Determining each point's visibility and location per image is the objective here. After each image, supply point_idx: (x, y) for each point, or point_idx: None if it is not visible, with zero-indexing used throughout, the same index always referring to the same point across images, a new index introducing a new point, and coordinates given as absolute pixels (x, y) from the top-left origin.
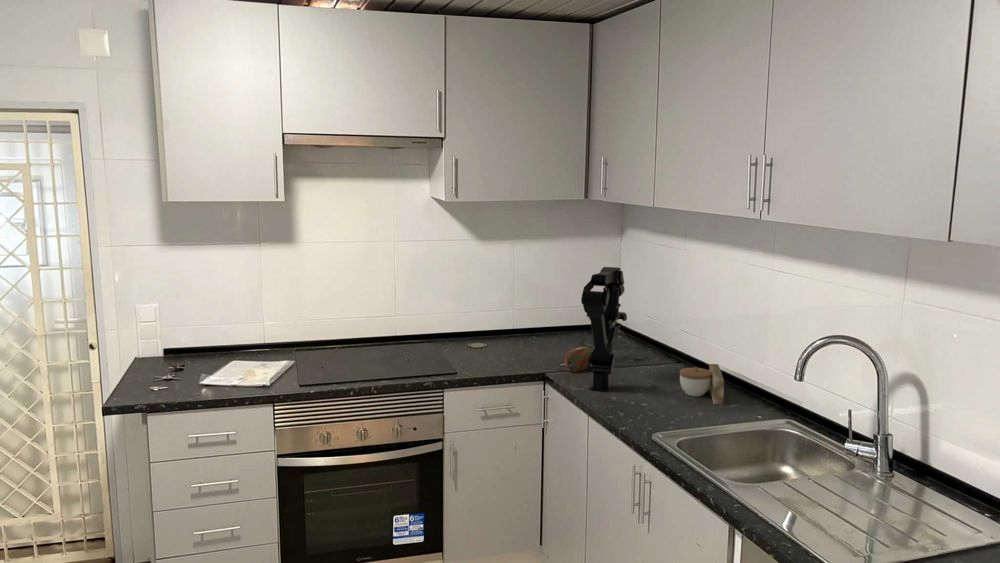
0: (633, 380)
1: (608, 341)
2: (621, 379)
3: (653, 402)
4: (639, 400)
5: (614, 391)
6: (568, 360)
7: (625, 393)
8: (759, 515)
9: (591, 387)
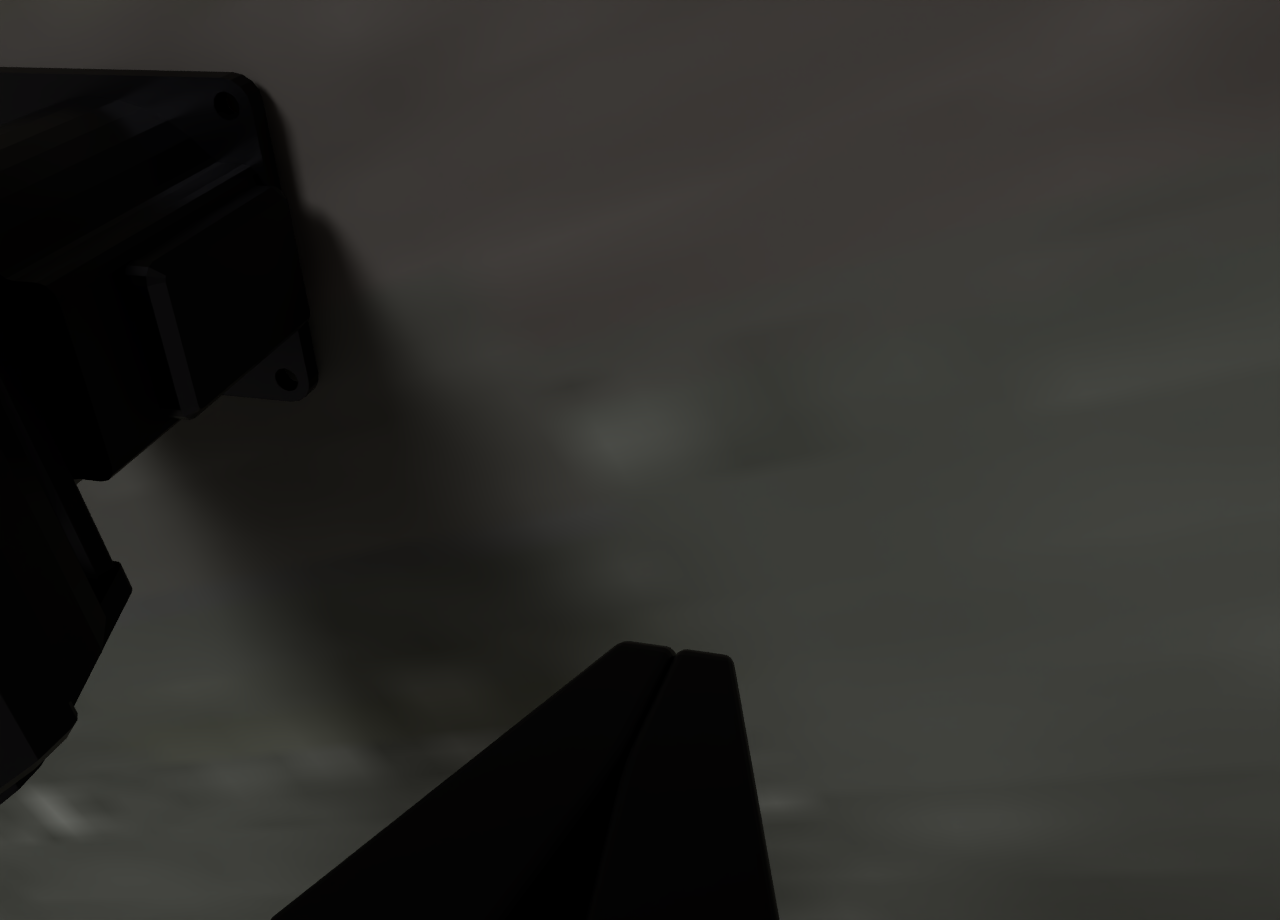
0: (877, 601)
1: (565, 707)
2: (843, 411)
3: (165, 880)
4: (117, 766)
5: (189, 458)
6: None
7: (217, 601)
8: None
9: (2, 108)
